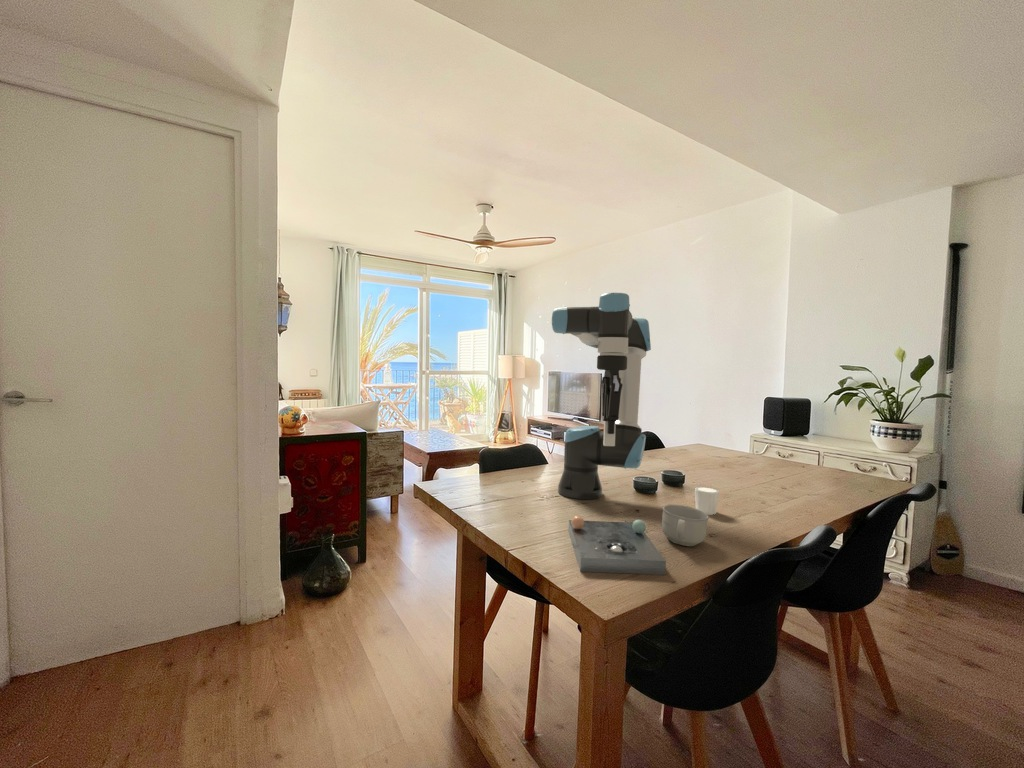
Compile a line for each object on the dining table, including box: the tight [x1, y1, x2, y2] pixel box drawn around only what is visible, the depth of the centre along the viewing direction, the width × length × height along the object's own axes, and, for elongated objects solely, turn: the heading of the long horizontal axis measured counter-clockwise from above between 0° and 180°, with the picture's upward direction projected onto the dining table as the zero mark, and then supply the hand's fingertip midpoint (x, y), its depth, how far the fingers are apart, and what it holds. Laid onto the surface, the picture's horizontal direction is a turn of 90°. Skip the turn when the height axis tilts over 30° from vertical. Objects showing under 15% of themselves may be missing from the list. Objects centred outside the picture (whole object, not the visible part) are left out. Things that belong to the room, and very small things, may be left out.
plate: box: [568, 519, 667, 576], centre depth 100 cm, size 22×18×3 cm
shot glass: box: [694, 486, 720, 516], centre depth 130 cm, size 7×7×7 cm
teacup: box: [661, 504, 710, 547], centre depth 105 cm, size 14×11×8 cm
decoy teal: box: [632, 519, 647, 533], centre depth 104 cm, size 3×3×3 cm
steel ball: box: [610, 545, 623, 552], centre depth 95 cm, size 3×3×3 cm
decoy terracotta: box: [571, 515, 585, 529], centre depth 105 cm, size 3×3×3 cm
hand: (609, 445), depth 109 cm, fingers closed
